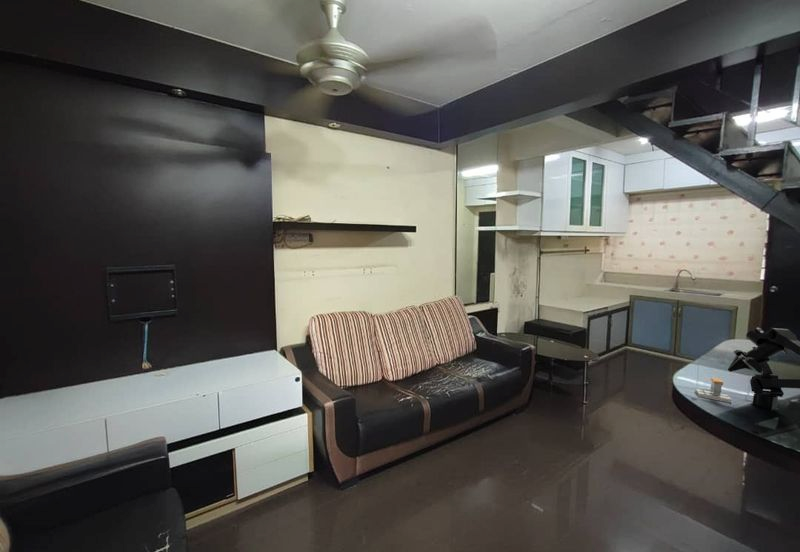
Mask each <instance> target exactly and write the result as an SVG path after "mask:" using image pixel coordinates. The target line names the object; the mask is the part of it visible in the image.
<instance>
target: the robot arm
mask: <svg viewBox="0 0 800 552" xmlns="http://www.w3.org/2000/svg"><path fill="white" fill-rule="evenodd" d="M745 337H746V339H748V341H750V342H751V343H753V344H754V345H755V346H752V348H751V349H750V350H748V351H743V350H741V349H736V350H734V351H733V354H734V355H735V356H734V359H733V360H732V362H731V363H730V365H729V366H728V368H727V371H728V372H735V371H740V370H744V369H746V370H750V371H753V369H754V370H755V372H757V373H755V374H754V375H752V376H751V379H749V380H750V381H749V383H750V388H751V389H750V390H751V392H752V393H753V397H752V403H751V404H750V405H751V406H754V407H757V408H759V409H762V410H764V411H768V412H772V411H778V410H779V408H778V407H777V404H778V401H779V399H778V398H779V397H780V398H782V397H783V396H784V394H785V393H784V391H783V390H782V389H798V390H799V389H800V379H799V378H797V379H796V378H794V379H793V378H779V375H776V374H774V373H773V370H772V369H771V366H769V365H770V364H768V363H769V362H770V360H771V359H770V358H772V357H774V356H776V355H778V354H779V353H781V352H782V353H785V354H786V355H788V354H789V350H790V351H791V352H792V353H794V354H795V355H796V356H798V357H800V340H799V339H798V338H797V335H796V334H795V333H793V331H791V330H790V329H788V328H775V327H769V328H768V329H767V330H765V331H764V330H763V329H762V328H760V327H755V328H754V329H752V330H750V331H748V332H747V333H746V335H745ZM759 373H760V374H759Z"/></svg>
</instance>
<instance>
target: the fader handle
mask: <svg viewBox="0 0 800 552" xmlns="http://www.w3.org/2000/svg"><path fill="white" fill-rule="evenodd" d="M710 381H711V384H710V392H711V393H712V394H713V395H717V396H720V394H722V387H723V385H724V381H723V380H722V379H720V378H715V377H710Z"/></svg>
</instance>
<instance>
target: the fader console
mask: <svg viewBox="0 0 800 552" xmlns="http://www.w3.org/2000/svg"><path fill="white" fill-rule="evenodd" d="M695 393H696V394H697V396H698V398H699V397H700V398H705V399H711V400H715V401H721V402H725V403H732V400H733V399H732V398H731V397H730V396H729V395H728V394H725V393H721V394H720V396H717V395H713V394H712V393H711V392H710V391H709V390H703V389H699V388H695Z"/></svg>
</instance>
